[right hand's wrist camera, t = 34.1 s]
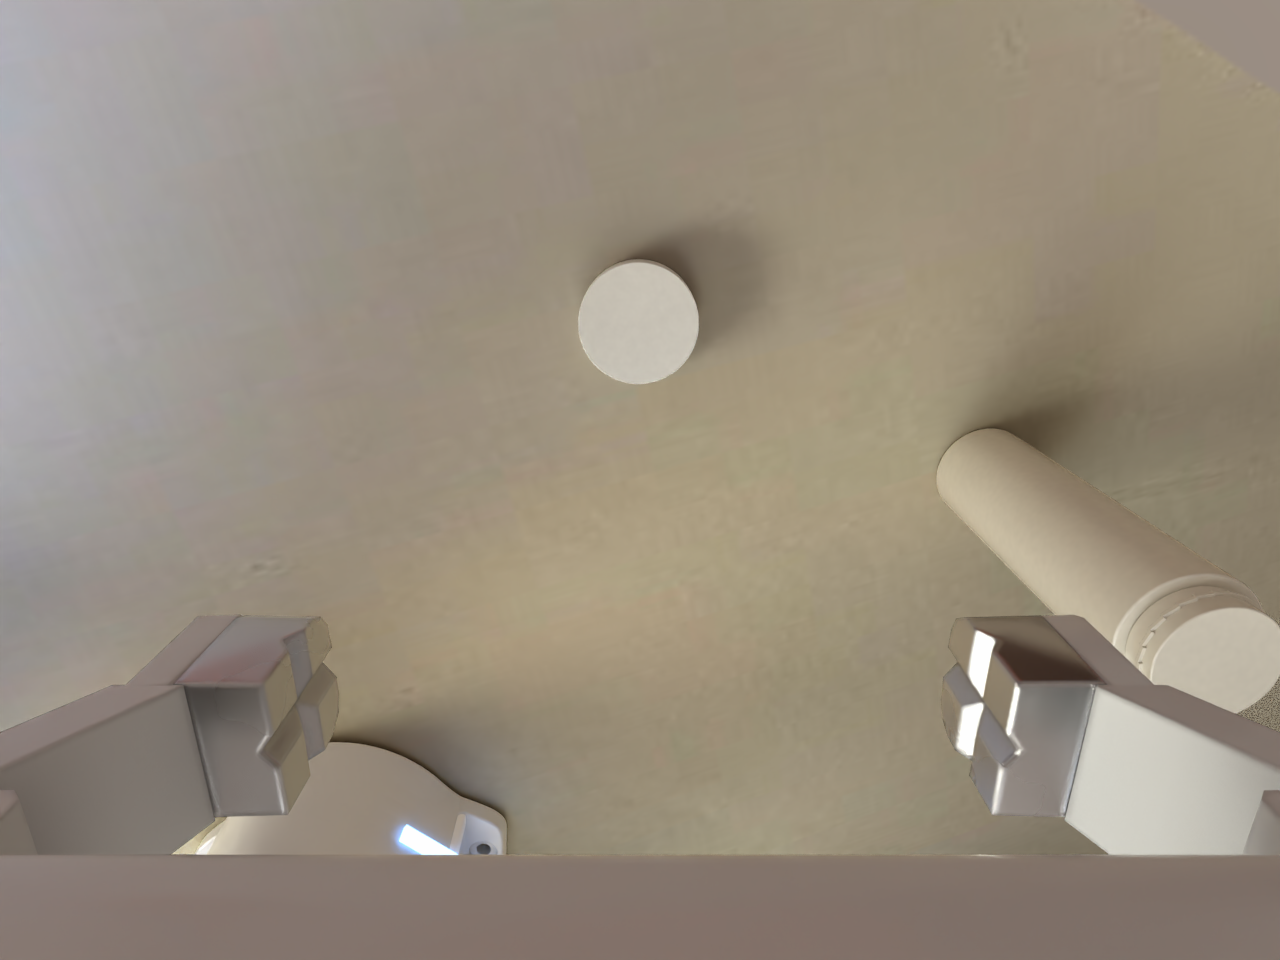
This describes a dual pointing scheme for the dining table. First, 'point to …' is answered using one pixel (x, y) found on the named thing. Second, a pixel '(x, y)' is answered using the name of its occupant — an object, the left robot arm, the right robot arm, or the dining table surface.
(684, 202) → the dining table surface
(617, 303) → the lid
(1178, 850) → the right robot arm
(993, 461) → the beige cylinder
